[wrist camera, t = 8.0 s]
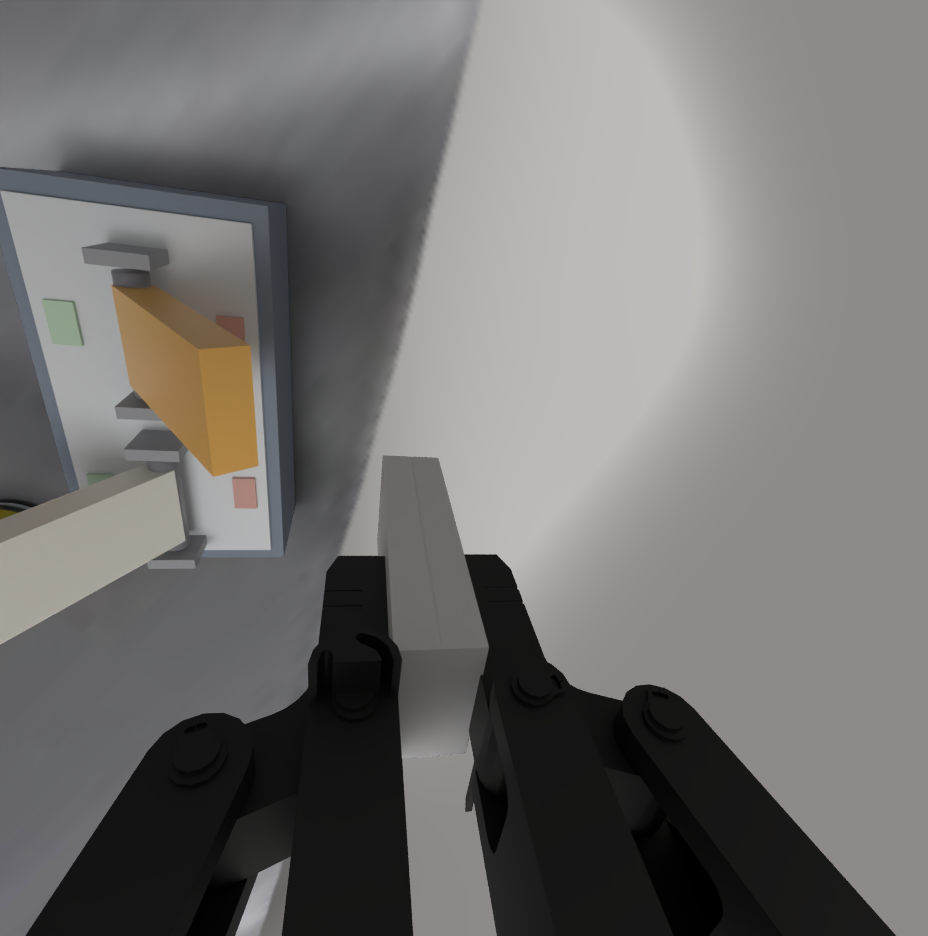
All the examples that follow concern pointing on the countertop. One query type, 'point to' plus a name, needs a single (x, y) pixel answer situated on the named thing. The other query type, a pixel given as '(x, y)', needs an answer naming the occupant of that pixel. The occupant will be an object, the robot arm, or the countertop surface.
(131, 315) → the orange lever
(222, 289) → the breaker panel
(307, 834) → the robot arm
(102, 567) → the ivory lever
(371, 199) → the countertop surface
